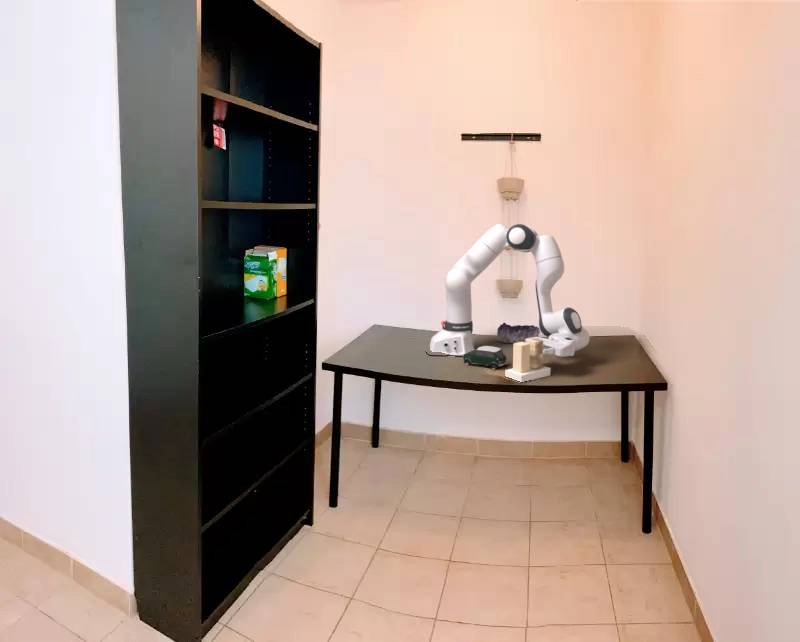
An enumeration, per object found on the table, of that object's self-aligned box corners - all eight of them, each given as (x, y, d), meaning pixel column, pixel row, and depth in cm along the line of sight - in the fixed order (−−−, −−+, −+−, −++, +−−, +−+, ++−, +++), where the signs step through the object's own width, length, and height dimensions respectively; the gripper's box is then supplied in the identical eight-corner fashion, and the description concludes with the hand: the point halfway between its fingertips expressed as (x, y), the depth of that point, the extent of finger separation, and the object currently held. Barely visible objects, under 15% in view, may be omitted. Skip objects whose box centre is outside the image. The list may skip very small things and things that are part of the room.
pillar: (534, 369, 270) (535, 342, 267) (526, 366, 273) (526, 340, 271) (542, 367, 272) (543, 340, 270) (534, 364, 276) (534, 338, 274)
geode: (496, 345, 321) (495, 323, 320) (496, 342, 332) (496, 321, 331) (540, 344, 317) (539, 323, 316) (539, 341, 328) (539, 320, 328)
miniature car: (470, 359, 297) (470, 341, 295) (509, 365, 287) (509, 347, 286) (461, 364, 290) (460, 346, 288) (499, 371, 280) (500, 352, 278)
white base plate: (521, 383, 263) (522, 347, 260) (505, 377, 271) (505, 343, 267) (550, 375, 272) (551, 341, 269) (533, 370, 279) (534, 337, 276)
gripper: (539, 331, 286) (515, 336, 278) (577, 341, 270) (553, 346, 262) (538, 346, 288) (515, 351, 280) (577, 356, 271) (552, 362, 263)
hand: (533, 349), depth 271 cm, fingers open, 8 cm apart
